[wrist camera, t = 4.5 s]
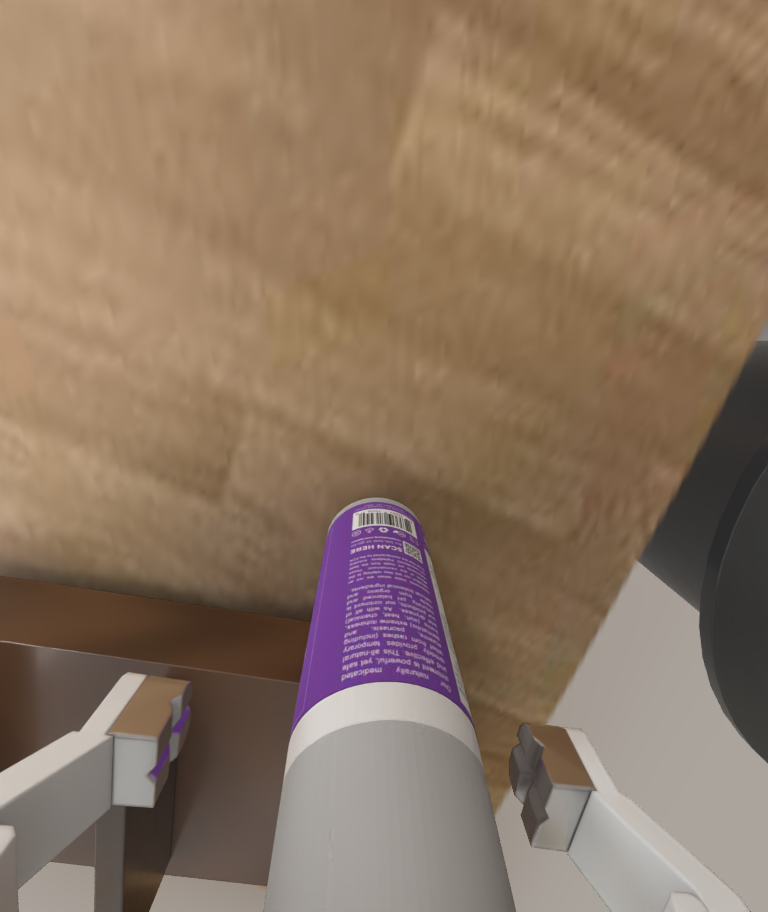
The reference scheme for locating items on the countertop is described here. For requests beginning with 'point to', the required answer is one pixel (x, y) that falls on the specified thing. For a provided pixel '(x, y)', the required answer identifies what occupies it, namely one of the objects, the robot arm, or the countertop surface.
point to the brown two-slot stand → (207, 741)
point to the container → (383, 741)
